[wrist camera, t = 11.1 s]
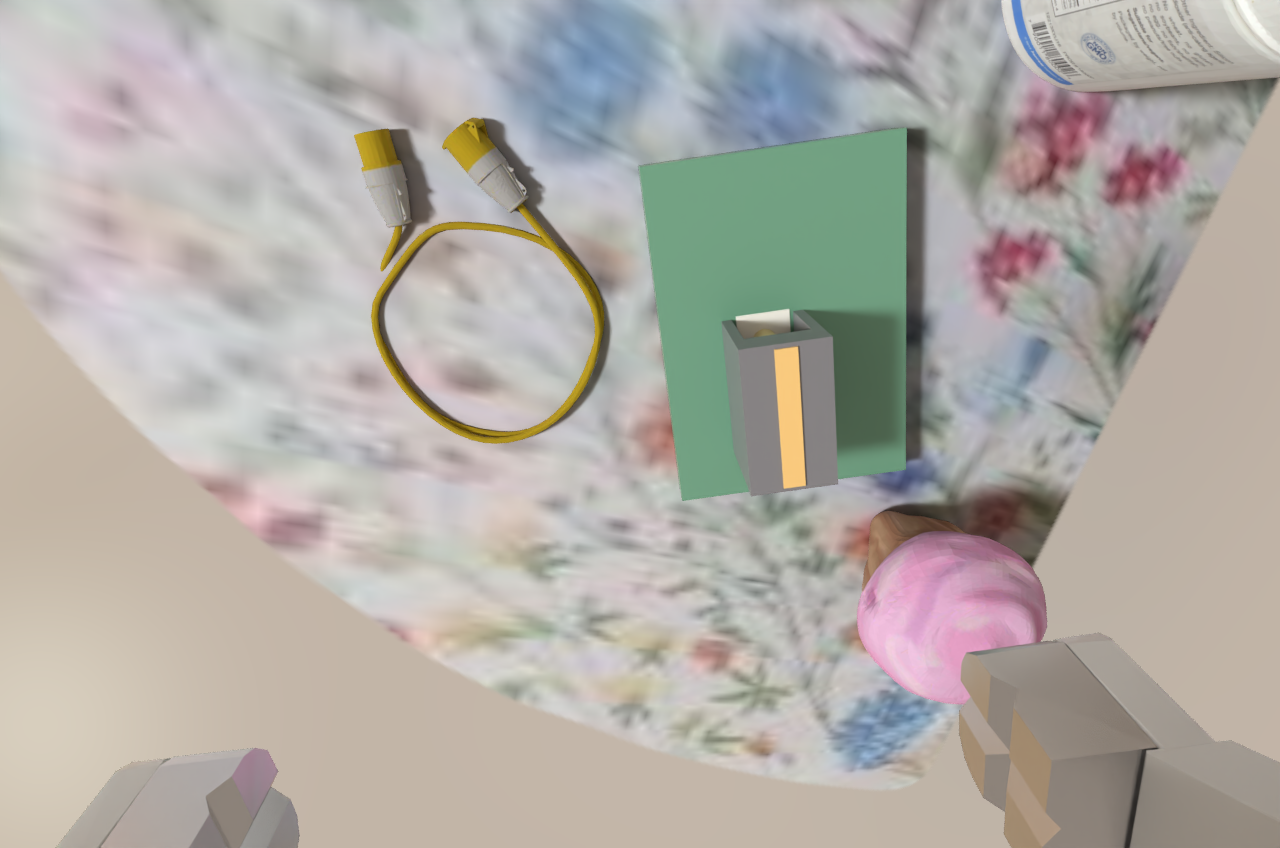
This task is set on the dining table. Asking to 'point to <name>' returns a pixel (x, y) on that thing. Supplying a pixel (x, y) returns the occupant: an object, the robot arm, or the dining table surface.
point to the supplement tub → (1144, 41)
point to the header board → (782, 287)
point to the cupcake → (942, 602)
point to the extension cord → (500, 185)
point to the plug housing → (783, 406)
